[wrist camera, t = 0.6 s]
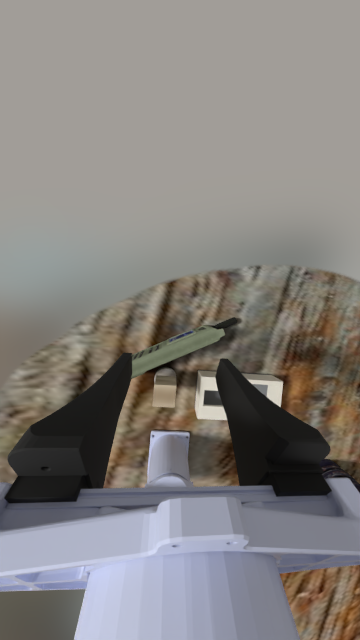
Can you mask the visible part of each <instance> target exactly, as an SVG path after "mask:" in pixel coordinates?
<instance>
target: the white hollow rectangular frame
mask: <svg viewBox="0 0 360 640" xmlns="http://www.w3.org/2000/svg"><path fill="white" fill-rule="evenodd" d="M216 372H217V371H206V370H198V376H197V386H196V397H195V411H196V415H197V418H198V419H213V420H227V417H226V413H225V410H224V407H223V404H222V401H221V398H220V395H219V392H218V388H217V384H216V378H215V376H216ZM241 374H242V375H243V376H244V377H245V378H246V379H247V380H248V381H249V382H250V383H251V384H252V385H253V386H255V387H256V388H257V389H258V390H259V391H260V392H261V393H262V394H264V395H265V396H266V397H267V398H269V399H270V400H271V401H272V402H274V403H275V404H277V405H278V406H279V407H281V399H282V389H283V381H281V380H279V379H278V378H276V377H274V376H273V375H267V374H252V373H241Z"/></svg>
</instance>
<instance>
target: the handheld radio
mask: <svg viewBox="0 0 360 640" xmlns="http://www.w3.org/2000/svg"><path fill="white" fill-rule="evenodd" d="M236 323H237V320H236V318H235V317H234V318H231V319H229V320H226V321H224V322H221V323H219V324H217V325H215V326H212V327H210V326H208V325H203V326H201V327H198V328H196V329H191V330H189V331H186V332H184V333H182V334H179V335H177V336H174V337H172V338H169V339H168V340H166V341H164V342H162V343H159V344H157V345H154V346H152V347H150V348H147V349H145V350H142V351H140V352H138V353H135V354H133V355H132V376H131V379H132V378H135V377H137V376H139V375H142V374H144V373H145V372H146V371H148V370H150V369H153V368H155V367H158V366H160V365H162V364H165V363H167V362H170V361H172V360H174V359H177V358H179V357H182V356H184V355H186V354H189V353H191V352H194V351H196V350H198V349H201V348H203V347H205V346H208V345H210V344H213V343H215V342H217V341H219V340H220V337H222V336H224V335H225V333H224V330H223V328H226V327H228V326H231V325H233V324H236Z"/></svg>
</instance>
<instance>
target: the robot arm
mask: <svg viewBox="0 0 360 640" xmlns="http://www.w3.org/2000/svg"><path fill="white" fill-rule="evenodd" d="M131 376H132V353H123V354H122V355H121V356H120V358H119V359H118V360H117V361H116V362H115V363H114V365H113V366H112V367H111V368H110V369H109V370H108V371H107V372H106V373H105V374H104V375H103V376H102V377H101V378H100V379H99V380H98V381H97V382H95V383H94V384H93V385H92V386H91V387H90V388H88V389H87V390H86V391H85V392H83V393H82V394H81V395H79V396H78V397H77V398H75V399H74V400H73V401H71V402H70V403H68V404H67V405H65V406H64V407H62V408H61V409H59V410H57V411H56V412H54V413H52V414H51V415H49V416H47V417H45V418H44V419H42V420H40V421H38V422H37V423H35V424H33V425H31V426H30V428H29V429H28V430H27V431H26V432H25V433H24V435H23V436H22V437H21V439H20V440H19V441H18V443H17V444H16V445H15V447H14V448H13V450H12V451H11V452H10V454H9V455H8V462H9V464H10V466H11V467H12V468H13V470H14V471H15V472H16V474H17V475H18V477H17V478H16V480H15V481H14V483H13V485H12V484H10V483H5V482H0V591H30V590H64V589H86V591H85V596H84V600H83V604H82V608H81V612H80V616H79V621H78V625H77V629H76V633H75V637H74V640H300V638H299V635H298V631H297V628H296V625H295V622H294V619H293V616H292V612H291V609H290V606H289V603H288V600H287V597H286V593H285V590H284V587H283V584H282V581H281V578H280V575H279V574H280V573H288V572H296V571H304V570H313V569H321V568H330V567H340V566H351V565H360V493H359V491H358V490H357V489H356V487H355V486H354V485H353V483H352V482H351V480H350V479H349V478H328V479H324V477H323V476H322V474H321V473H322V472H323V469H322V468H321V466H320V465H319V463H320V462H321V461H322V460H323V459H324V458H325V457H326V456H327V455H328V454H329V452H330V446H329V445H328V443H327V442H326V440H325V439H324V438H323V436H322V435H321V434H320V432H319V431H318V430H317V429H315V428H313V427H311V426H310V425H308V424H306V423H304V422H303V421H301V420H299V419H298V418H296V417H294V416H293V415H291V414H290V413H288V412H287V411H285V410H284V409H282V408H281V407H279V406H278V405H277V404H275V403H274V402H272V401H271V400H270V399H269V398H267V397H266V396H265V395H264V394H262V393H261V392H260V391H259V390H258V389H257V388H256V387H255V386H253V385H252V384H251V383H250V382H249V381H248V380H247V379H246V378H245V377H244V376H243V375H242V374H241V373H240V372H239V370H238V369H237V368H236V367H235V366H234V365H233V364H232V363H231V362H230V361H229V360H228V359H220V362H219V366H218V369H217V372H216V376H215V378H216V384H217V388H218V392H219V395H220V398H221V401H222V404H223V407H224V410H225V413H226V417H227V420H228V424H229V429H230V434H231V438H232V443H233V448H234V454H235V460H236V465H237V472H238V478H239V485H240V486H214V487H194V486H193V482H191V481H190V473H189V465H188V449H189V438H190V433H189V432H184V431H158V430H153V431H151V438H150V449H149V461H148V473H147V475H148V480H147V484H145V488H103V486H104V481H105V476H106V471H107V466H108V462H109V457H110V452H111V448H112V444H113V439H114V435H115V431H116V427H117V422H118V418H119V415H120V412H121V409H122V406H123V403H124V400H125V397H126V394H127V391H128V388H129V385H130V381H131ZM152 435H154V436H152ZM187 436H188V437H187Z"/></svg>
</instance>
